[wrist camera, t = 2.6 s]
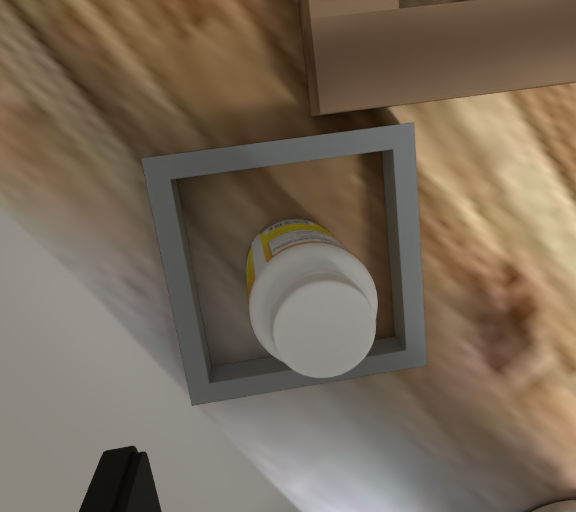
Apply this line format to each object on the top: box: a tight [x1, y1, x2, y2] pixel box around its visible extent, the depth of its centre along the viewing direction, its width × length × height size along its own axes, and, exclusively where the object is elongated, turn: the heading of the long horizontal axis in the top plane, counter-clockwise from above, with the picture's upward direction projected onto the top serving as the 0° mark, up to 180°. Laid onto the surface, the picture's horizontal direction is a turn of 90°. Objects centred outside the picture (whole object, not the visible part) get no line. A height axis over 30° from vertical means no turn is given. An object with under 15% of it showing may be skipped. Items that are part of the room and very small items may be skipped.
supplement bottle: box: [246, 218, 378, 378], centre depth 22 cm, size 6×6×10 cm
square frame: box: [141, 123, 427, 406], centre depth 26 cm, size 14×14×2 cm
